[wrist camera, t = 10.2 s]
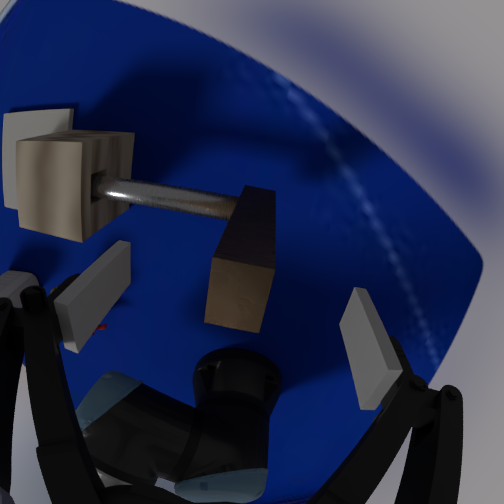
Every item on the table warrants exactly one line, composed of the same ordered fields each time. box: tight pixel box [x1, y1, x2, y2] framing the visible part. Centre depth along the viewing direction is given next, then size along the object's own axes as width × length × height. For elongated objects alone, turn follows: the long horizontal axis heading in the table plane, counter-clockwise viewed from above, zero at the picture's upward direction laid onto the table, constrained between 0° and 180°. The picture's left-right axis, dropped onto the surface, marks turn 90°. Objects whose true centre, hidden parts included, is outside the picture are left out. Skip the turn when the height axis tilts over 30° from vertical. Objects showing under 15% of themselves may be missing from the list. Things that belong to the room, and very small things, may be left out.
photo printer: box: [0, 271, 39, 308], centre depth 39 cm, size 10×4×12 cm, turn 91°
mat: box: [2, 109, 74, 209], centre depth 34 cm, size 16×16×1 cm
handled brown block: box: [90, 174, 276, 333], centre depth 22 cm, size 26×4×16 cm, turn 80°
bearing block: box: [16, 130, 135, 243], centre depth 29 cm, size 10×10×11 cm
